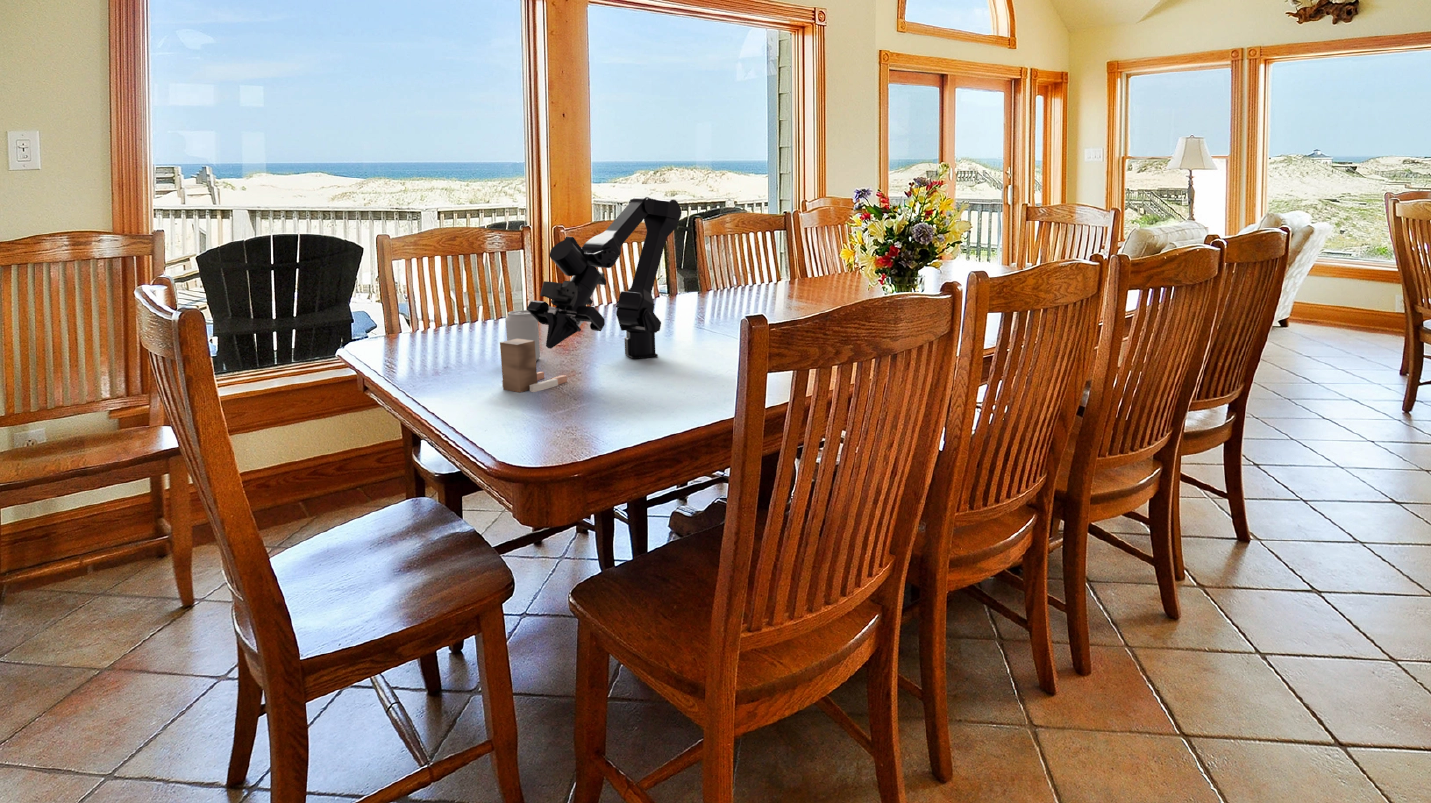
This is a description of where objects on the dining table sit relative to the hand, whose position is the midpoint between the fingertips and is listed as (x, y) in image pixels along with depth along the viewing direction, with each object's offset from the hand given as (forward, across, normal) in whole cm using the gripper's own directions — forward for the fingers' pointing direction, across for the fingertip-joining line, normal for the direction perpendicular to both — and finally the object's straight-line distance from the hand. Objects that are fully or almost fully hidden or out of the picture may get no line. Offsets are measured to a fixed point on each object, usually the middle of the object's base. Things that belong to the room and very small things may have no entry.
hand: (548, 347), depth 206 cm
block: (+11, 0, -1) cm, 11 cm away
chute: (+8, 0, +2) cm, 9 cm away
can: (-3, -20, +14) cm, 25 cm away
